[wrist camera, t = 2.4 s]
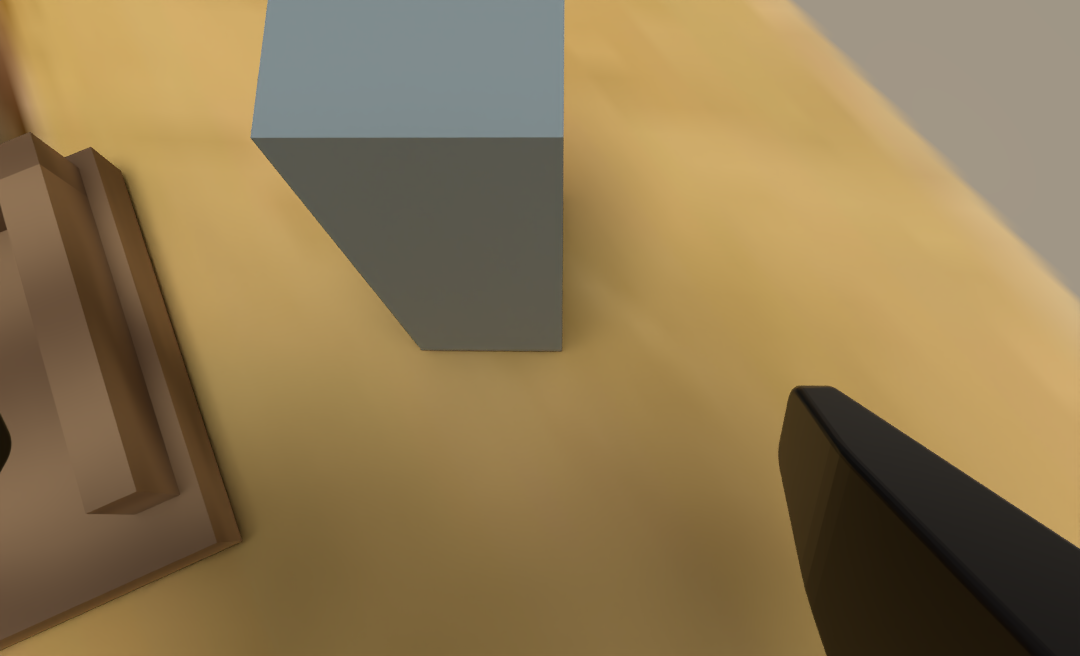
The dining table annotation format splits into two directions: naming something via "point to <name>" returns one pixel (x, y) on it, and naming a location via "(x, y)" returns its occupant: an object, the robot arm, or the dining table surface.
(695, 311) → the dining table surface
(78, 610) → the stand
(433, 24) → the grey rectangular block
